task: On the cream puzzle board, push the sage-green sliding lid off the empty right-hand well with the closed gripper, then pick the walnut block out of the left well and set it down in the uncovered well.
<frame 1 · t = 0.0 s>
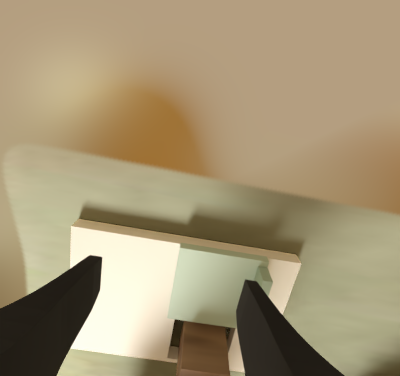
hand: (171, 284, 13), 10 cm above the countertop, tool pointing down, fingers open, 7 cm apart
lid: (216, 295, 22), point 3 cm above the countertop, slide at 0.0 cm
walnut block: (201, 328, 27), resting in puzzle board
puzzle board: (178, 297, 26), on the countertop
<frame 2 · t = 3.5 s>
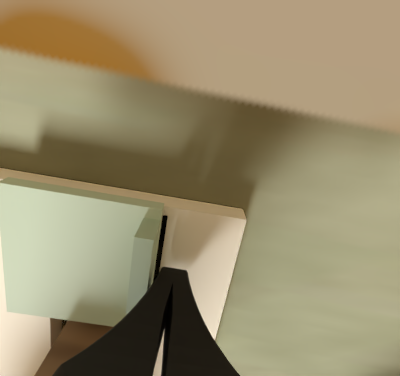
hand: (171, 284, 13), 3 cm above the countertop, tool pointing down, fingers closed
lid: (73, 271, 13), point 3 cm above the countertop, slide at 1.0 cm, touching gripper
walnut block: (107, 330, 18), resting in puzzle board
puzzle board: (62, 282, 16), on the countertop
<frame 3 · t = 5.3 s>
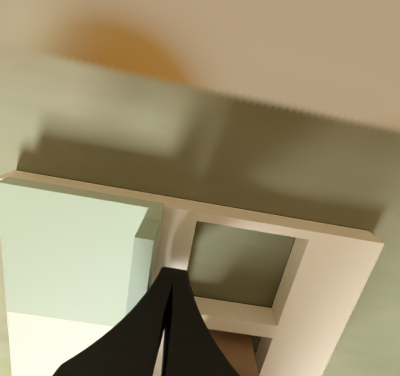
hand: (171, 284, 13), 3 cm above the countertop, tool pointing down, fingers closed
lid: (73, 270, 13), point 3 cm above the countertop, slide at 8.5 cm, touching gripper
walnut block: (214, 345, 18), resting in puzzle board
puzzle board: (179, 300, 17), on the countertop
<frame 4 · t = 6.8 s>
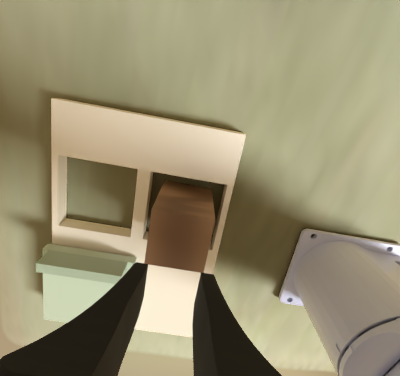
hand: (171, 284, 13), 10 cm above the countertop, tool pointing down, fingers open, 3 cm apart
lid: (84, 296, 22), point 3 cm above the countertop, slide at 8.5 cm
walnut block: (184, 206, 22), resting in puzzle board
puzzle board: (140, 230, 23), on the countertop
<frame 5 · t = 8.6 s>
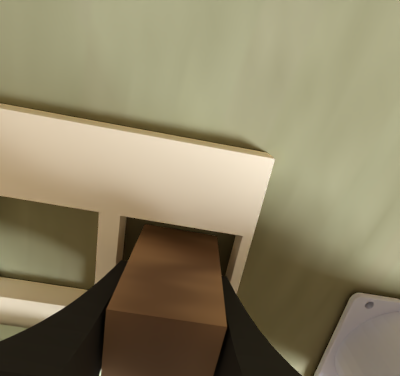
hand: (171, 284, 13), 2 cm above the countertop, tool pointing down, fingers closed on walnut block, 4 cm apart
walnut block: (175, 260, 15), resting in puzzle board, touching gripper
puzzle board: (110, 293, 16), on the countertop
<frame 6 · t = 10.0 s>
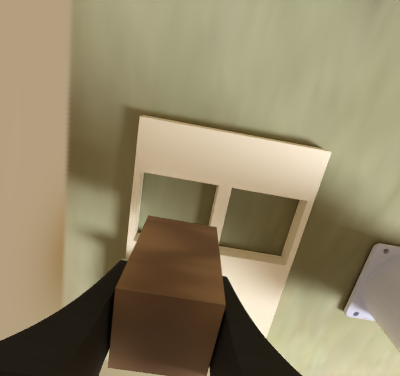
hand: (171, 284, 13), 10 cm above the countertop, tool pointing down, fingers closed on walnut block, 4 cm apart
lid: (157, 311, 22), point 3 cm above the countertop, slide at 8.5 cm
walnut block: (177, 250, 16), point 7 cm above the countertop, touching gripper
puzzle board: (210, 244, 23), on the countertop
when the fingers open (3 cm above the countertop, at t = 11.7 s): walnut block stays where it is, resting in puzzle board.
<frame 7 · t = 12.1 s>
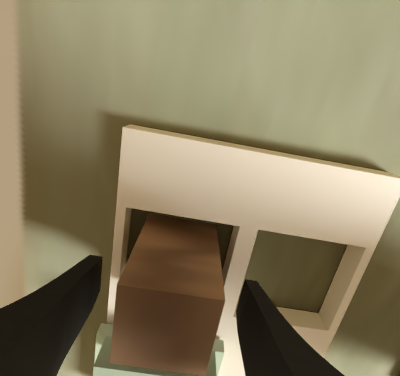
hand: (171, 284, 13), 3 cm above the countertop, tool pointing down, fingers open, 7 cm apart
walnut block: (177, 248, 16), resting in puzzle board
puzzle board: (223, 298, 17), on the countertop
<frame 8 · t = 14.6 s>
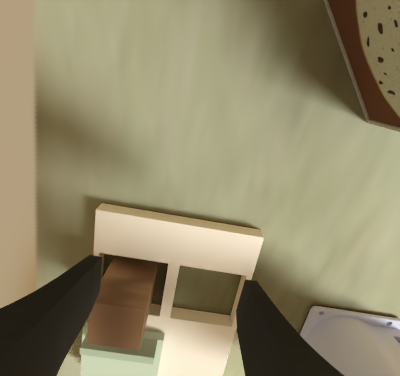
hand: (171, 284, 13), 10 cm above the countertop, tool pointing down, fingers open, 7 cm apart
lid: (118, 368, 25), point 3 cm above the countertop, slide at 8.5 cm
food container: (386, 40, 18), on the countertop
walnut block: (135, 274, 25), resting in puzzle board
puzzle board: (166, 306, 26), on the countertop
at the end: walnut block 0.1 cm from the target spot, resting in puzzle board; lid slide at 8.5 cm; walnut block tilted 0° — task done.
